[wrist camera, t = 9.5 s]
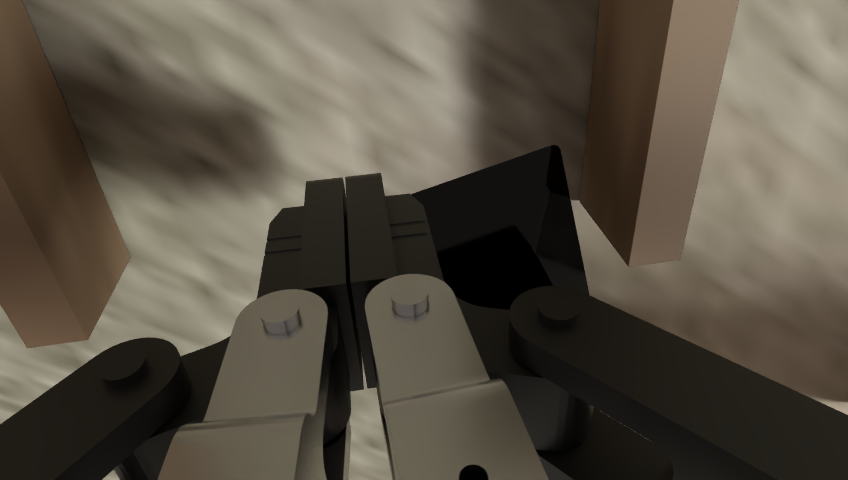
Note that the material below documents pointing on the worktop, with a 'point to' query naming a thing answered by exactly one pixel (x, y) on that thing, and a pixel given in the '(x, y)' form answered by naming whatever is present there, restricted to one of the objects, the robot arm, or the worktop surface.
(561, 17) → the worktop surface
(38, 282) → the walnut lane
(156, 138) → the worktop surface
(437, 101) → the worktop surface
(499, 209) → the black block
